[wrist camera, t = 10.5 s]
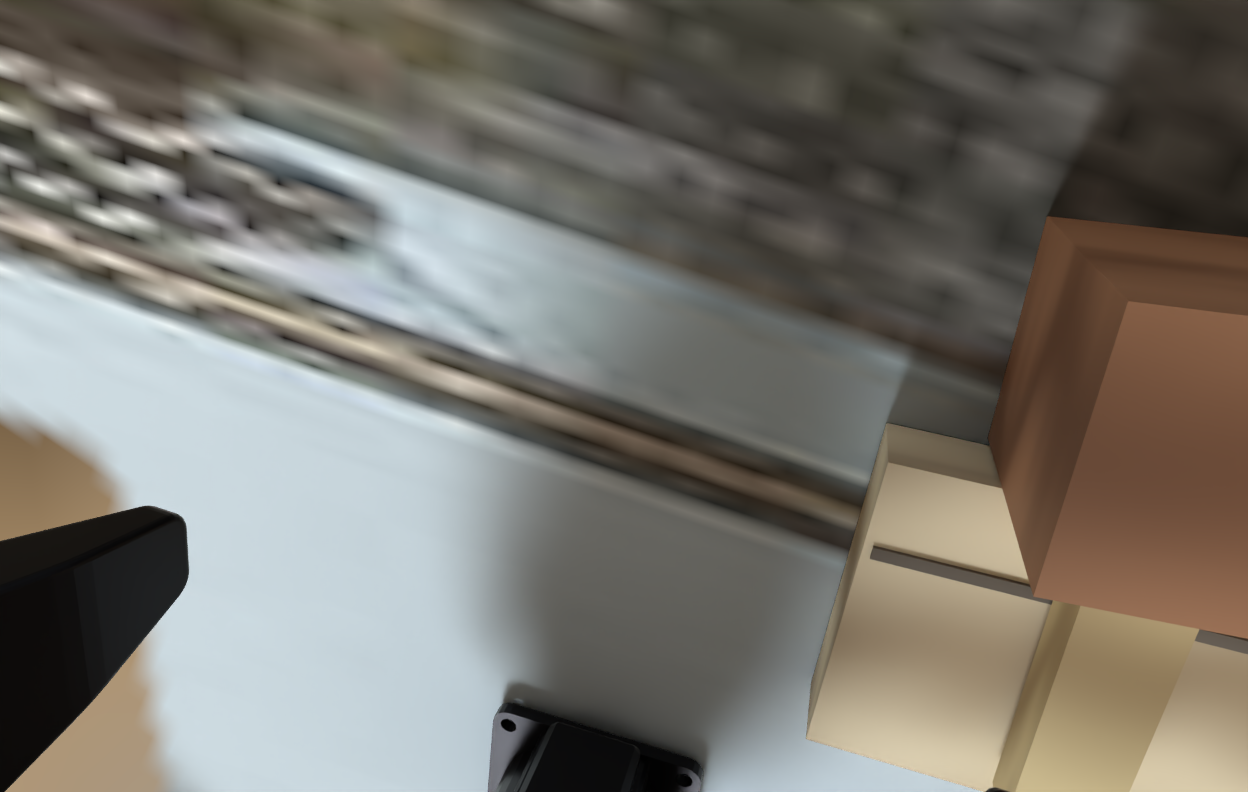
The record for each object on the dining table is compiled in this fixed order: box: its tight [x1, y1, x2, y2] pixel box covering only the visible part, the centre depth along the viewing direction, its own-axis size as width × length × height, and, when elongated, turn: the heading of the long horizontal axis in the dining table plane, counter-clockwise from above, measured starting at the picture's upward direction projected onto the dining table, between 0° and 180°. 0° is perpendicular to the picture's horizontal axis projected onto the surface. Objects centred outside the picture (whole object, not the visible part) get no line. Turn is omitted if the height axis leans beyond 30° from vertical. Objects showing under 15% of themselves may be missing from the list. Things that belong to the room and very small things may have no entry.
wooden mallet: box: [988, 216, 1248, 792], centre depth 16 cm, size 12×5×6 cm, turn 177°
